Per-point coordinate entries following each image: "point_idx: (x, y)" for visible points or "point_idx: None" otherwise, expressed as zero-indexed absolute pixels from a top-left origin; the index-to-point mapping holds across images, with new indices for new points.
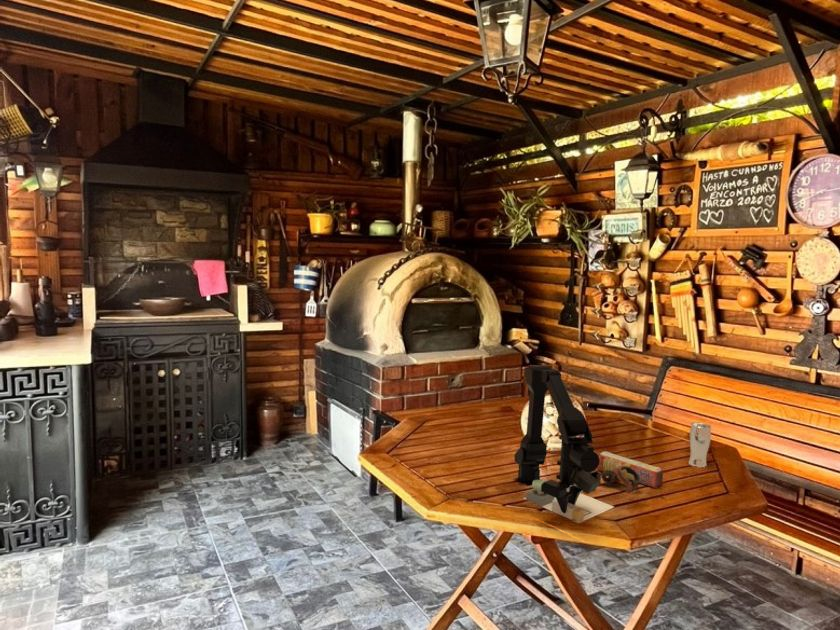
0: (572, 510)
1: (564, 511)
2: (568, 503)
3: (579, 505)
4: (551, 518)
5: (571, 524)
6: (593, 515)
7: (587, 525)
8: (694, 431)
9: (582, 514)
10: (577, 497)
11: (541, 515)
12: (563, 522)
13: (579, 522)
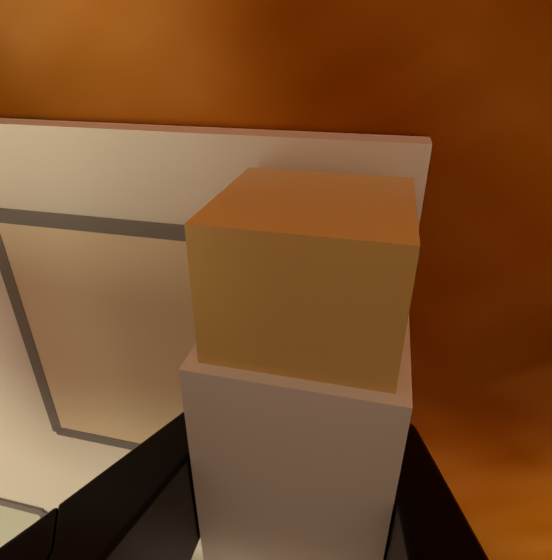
0: (396, 382)
1: (423, 452)
2: (234, 520)
3: (2, 382)
4: (509, 466)
5: (489, 226)
6: (11, 141)
7: (313, 27)
8: None
9: (259, 196)
10: (24, 551)
11: (516, 551)
12: (512, 331)
13: (396, 148)
